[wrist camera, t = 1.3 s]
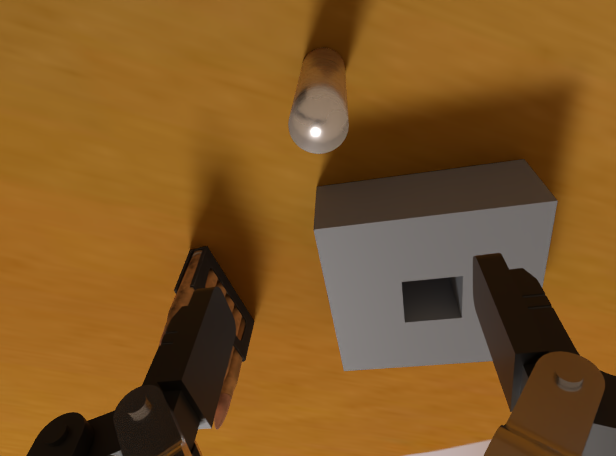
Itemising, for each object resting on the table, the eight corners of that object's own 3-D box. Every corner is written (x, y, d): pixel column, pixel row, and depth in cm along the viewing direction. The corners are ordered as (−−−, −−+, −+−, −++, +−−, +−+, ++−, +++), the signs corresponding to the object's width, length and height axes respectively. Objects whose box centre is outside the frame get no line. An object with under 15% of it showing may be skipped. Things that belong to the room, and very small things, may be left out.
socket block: (343, 321, 44) (343, 370, 39) (316, 186, 35) (313, 229, 30) (506, 307, 41) (529, 358, 37) (524, 159, 32) (557, 200, 28)
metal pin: (305, 95, 30) (295, 157, 22) (297, 51, 29) (282, 101, 21) (347, 88, 30) (352, 149, 22) (341, 43, 28) (344, 91, 20)
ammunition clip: (254, 322, 45) (232, 433, 35) (238, 325, 45) (212, 436, 35) (206, 245, 39) (163, 352, 29) (189, 250, 39) (140, 357, 30)
